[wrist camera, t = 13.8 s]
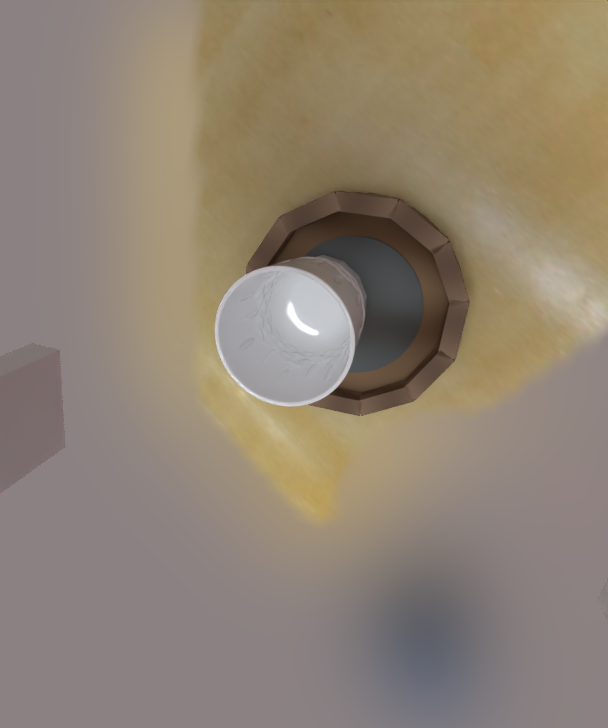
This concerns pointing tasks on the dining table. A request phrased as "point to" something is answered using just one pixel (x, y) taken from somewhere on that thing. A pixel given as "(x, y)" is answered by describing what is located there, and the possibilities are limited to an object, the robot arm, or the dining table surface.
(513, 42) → the dining table surface
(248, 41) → the dining table surface
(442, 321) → the tray
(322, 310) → the white cup
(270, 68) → the dining table surface
